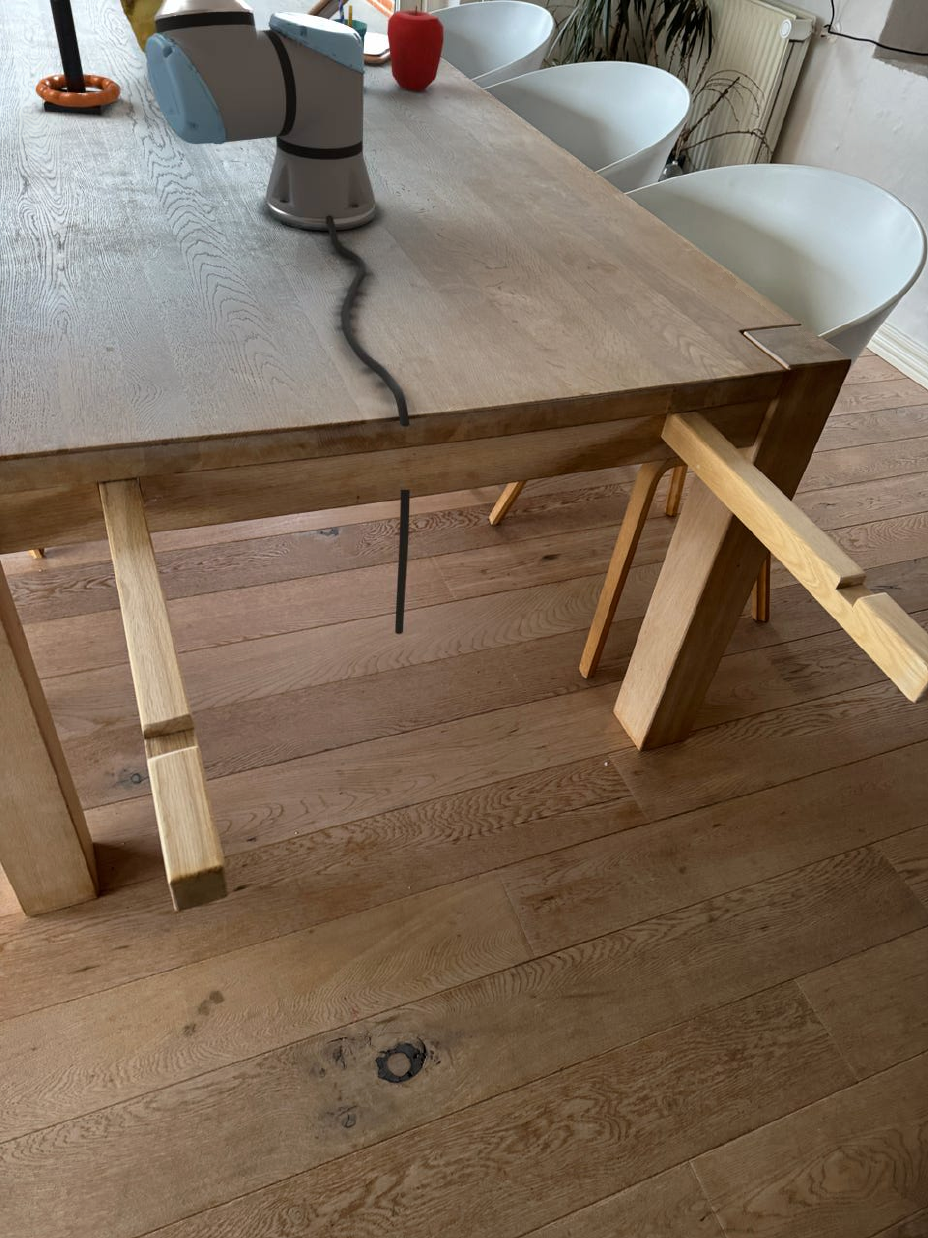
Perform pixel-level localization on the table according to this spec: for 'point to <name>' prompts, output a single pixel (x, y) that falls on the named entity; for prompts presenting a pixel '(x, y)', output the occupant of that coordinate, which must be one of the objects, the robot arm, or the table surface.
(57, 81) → the ring
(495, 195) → the table surface
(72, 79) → the peg stand
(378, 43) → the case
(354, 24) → the cup
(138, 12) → the pitcher
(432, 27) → the apple
